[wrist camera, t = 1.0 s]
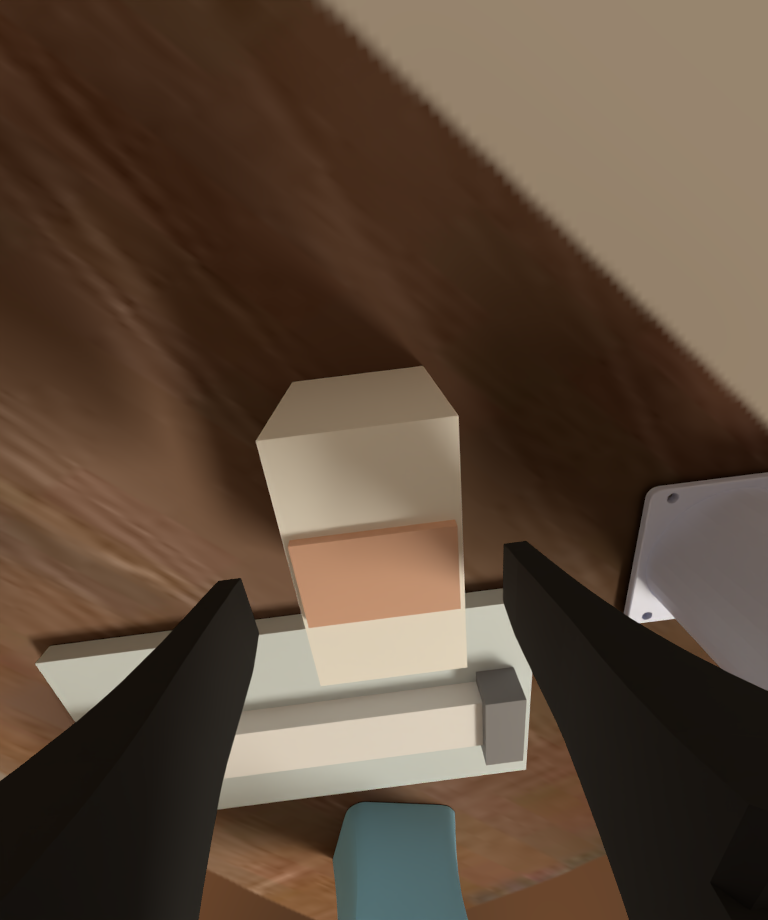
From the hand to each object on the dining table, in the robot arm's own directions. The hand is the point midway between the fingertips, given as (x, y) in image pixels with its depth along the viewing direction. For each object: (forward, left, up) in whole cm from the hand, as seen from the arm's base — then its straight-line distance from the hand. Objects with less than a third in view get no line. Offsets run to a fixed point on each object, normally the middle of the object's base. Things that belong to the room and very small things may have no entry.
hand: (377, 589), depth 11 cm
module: (0, 0, -7) cm, 7 cm away
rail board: (+5, +14, -7) cm, 16 cm away
